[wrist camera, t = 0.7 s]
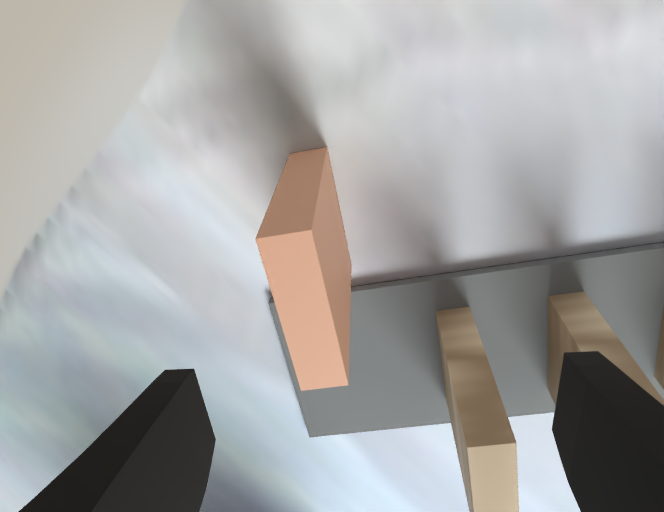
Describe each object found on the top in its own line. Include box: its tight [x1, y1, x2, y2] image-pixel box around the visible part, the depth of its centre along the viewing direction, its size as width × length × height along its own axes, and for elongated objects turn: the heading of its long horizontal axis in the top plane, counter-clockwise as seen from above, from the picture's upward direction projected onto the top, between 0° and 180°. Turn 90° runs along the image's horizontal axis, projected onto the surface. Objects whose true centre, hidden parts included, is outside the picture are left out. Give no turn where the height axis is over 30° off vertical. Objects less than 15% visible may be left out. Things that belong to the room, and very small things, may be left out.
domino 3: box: [548, 291, 664, 406], centre depth 18 cm, size 1×5×7 cm, turn 11°
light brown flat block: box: [436, 307, 519, 512], centre depth 19 cm, size 1×5×7 cm, turn 11°
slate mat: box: [269, 242, 664, 437], centre depth 22 cm, size 24×8×1 cm, turn 101°
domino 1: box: [256, 147, 351, 391], centre depth 16 cm, size 1×5×7 cm, turn 11°
